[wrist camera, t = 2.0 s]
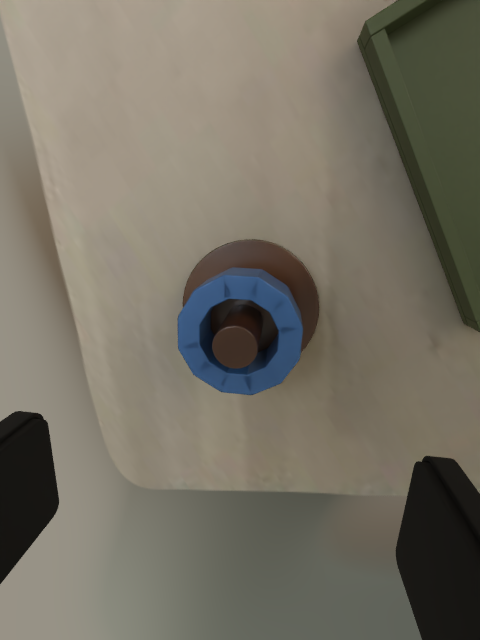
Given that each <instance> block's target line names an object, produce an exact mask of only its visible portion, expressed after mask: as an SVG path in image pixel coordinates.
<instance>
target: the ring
mask: <svg viewBox="0 0 480 640" xmlns="http://www.w3.org/2000/svg"><path fill="white" fill-rule="evenodd" d="M228 299H239V300H251V301H253V302H254V303H256V304H257V305H259V306H260V307H262V308H264V309H265V310H267V311H268V312H269V313H270V315H271V317H272V319H273V321H274V323H275V325H276V326H277V328H278V335H277V336H276V338H275V339H274V340H273V342H272V343H271V344H270V346H269V347H268V348H267V349H265V350H262V351H260V352H258V353H257V355H256V358H255V359H254V360H253V362H252V363H251V364H249V365H248V366H246V367H243V368H238V369H234V368H229V367H226V366H224V365H223V364H221V363H220V362H219V361H218V360H217V359H216V357H215V355H214V353H213V350H212V342H213V338H214V334H213V332H212V330H211V310H212V309H213V307H214V306H216V305H218V304H220V303H222V302H224V301H226V300H228ZM302 334H303V325H302V319H301V313H300V310H299V308H298V306H297V304H296V302H295V300H294V298H293V296H292V294H291V292H290V290H289V288H288V287H287V285H285V284H284V283H282V282H281V281H279V280H278V279H276V278H275V277H273V276H272V275H270V274H269V273H267V272H266V271H264V270H262V269H251V268H234V267H233V268H230V269H228V270H226V271H224V272H222V273H220V274H218V275H216V276H214V277H212V278H210V279H208V280H206V281H205V282H204V283H203V284H201V285H200V286H199V287H197V288H196V289H195V290H194V291H193V292H192V294H191V296H190V297H189V299H188V301H187V302H186V304H185V306H184V307H183V309H182V311H181V312H180V314H179V316H178V349H179V351H180V352H181V354H182V356H183V358H184V359H185V361H186V363H187V364H188V366H189V368H190V370H191V371H192V373H193V375H195V376H196V377H198V378H200V379H201V380H203V381H204V382H206V383H208V384H209V385H211V386H212V387H214V388H215V389H217V390H219V391H221V392H226V393H236V394H246V395H253V394H256V393H258V392H261V391H263V390H266V389H268V388H271V387H273V386H276V385H278V384H280V383H282V381H283V380H284V379H285V377H286V376H287V375H288V374H289V372H290V371H291V370H292V368H293V367H294V366H295V365H296V363H297V362H298V361H299V359H300V354H301V344H302Z"/></svg>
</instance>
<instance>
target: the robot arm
mask: <svg viewBox="0 0 480 640" xmlns="http://www.w3.org/2000/svg"><path fill="white" fill-rule="evenodd" d="M58 505H59V497H58V490H57V483H56V476H55V469H54V463H53V456H52V449H51V442H50V435H49V428H48V423H47V422H46V420H44V419H43V416H42V415H41V414H38V413H31V412H22V411H18V412H14V413H12V414H11V415H9V416H8V417H7V418H5V419H4V420H2V421H1V422H0V584H1V583H2V581H3V580H4V579H5V578H6V576H7V575H8V574H9V573H10V571H11V570H12V569H13V567H14V566H15V565H16V563H17V562H18V561H19V560H20V559H21V557H22V556H23V555H24V553H25V552H26V551H27V550H28V548H29V547H30V546H31V545H32V543H33V542H34V541H35V540H36V538H37V537H38V536H39V534H40V533H41V532H42V531H43V529H44V528H45V527H46V526H47V524H48V523H49V522H50V520H51V519H52V518H53V517H54V515H55V513H56V511H57V509H58ZM396 560H397V565H398V569H399V571H400V574H401V578H402V581H403V584H404V586H405V590H406V592H407V596H408V598H409V602H410V604H411V608H412V610H413V614H414V617H415V620H416V623H417V626H418V629H419V631H420V634H421V638H422V640H480V494H479V492H478V491H477V489H476V488H475V487H474V485H473V484H472V483H471V481H470V480H469V478H468V477H467V476H466V474H465V473H464V472H463V470H462V469H461V467H460V466H459V465H458V463H457V462H456V461H455V460H453V459H451V458H442V457H433V456H425V457H424V458H423V460H422V462H419V461H418V462H416V463H415V465H414V469H413V473H412V478H411V483H410V487H409V492H408V496H407V501H406V505H405V510H404V515H403V519H402V524H401V528H400V532H399V537H398V541H397V546H396Z"/></svg>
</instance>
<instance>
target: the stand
mask: <svg viewBox="0 0 480 640" xmlns="http://www.w3.org/2000/svg"><path fill="white" fill-rule="evenodd" d="M233 267H234V268H251V269H262V270H264V271H266V272H267V273H269V274H270V275H272V276H273V277H275V278H276V279H278V280H279V281H281V282H282V283H284V284H285V285H287V287H288V288H289V290H290V292H291V294H292V296H293V298H294V300H295V302H296V304H297V306H298V308H299V310H300V313H301V319H302V325H303V334H302V344H301V352H302V351H303V349H304V348H305V347H306V346H307V344H308V343H309V341H310V340H311V338H312V336H313V334H314V332H315V329H316V326H317V321H318V316H319V301H318V294H317V290H316V287H315V284H314V282H313V279H312V277H311V276H310V274H309V272H308V270H307V269H306V267H305V266H304V265H303V263H302V262H301V261H300V260H299V259H298V258H297V257H296V256H295V255H293V254H292V253H291V252H289V251H288V250H286V249H285V248H283V247H281V246H279V245H276V244H274V243H271V242H267V241H263V240H255V239H246V240H239V241H234V242H231V243H227V244H225V245H223V246H221V247H218V248H216V249H215V250H213V251H212V252H210V253H209V254H207V255H206V256H205V257H204V258H203V259H202V260H201V261H200V262H199V263H198V264H197V265H196V267H195V268H194V270H193V271H192V273H191V275H190V277H189V279H188V281H187V284H186V287H185V291H184V296H183V307H184V306H185V304H186V302H187V301H188V299H189V297H190V296H191V294H192V292H193V291H194V290H195V289H196V288H197V287H199V286H200V285H201V284H203V283H204V282H205V281H206V280H208V279H210V278H212V277H214V276H216V275H218V274H220V273H222V272H224V271H226V270H228V269H230V268H233ZM211 330H212V332H213V334H214V338H213V342H212V350H213V353H214V355H215V357H216V359H217V360H218V361H219V362H220V363H221V364H223V365H224V366H226V367H229V368H234V369H238V368H243V367H246V366H248V365H249V364H251V363H252V362H253V360H254V359H255V358H256V355H257V353H258V352H260V351H262V350H265V349H267V348H268V347H269V346H270V344H271V343H272V342H273V340H274V339H275V338H276V336H277V335H278V328H277V326H276V325H275V323H274V321H273V319H272V317H271V315H270V313H269V312H268V311H267V310H265V309H264V308H262V307H260V306H259V305H257V304H256V303H254V302H253V301H251V300H239V299H228V300H226V301H224V302H222V303H220V304H218V305H216V306H214V307H213V309H212V310H211Z"/></svg>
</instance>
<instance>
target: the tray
mask: <svg viewBox="0 0 480 640" xmlns="http://www.w3.org/2000/svg"><path fill="white" fill-rule="evenodd" d="M357 42H358V45H359V47H360V50H361V52H362V55H363V58H364V60H365V63H366V66H367V68H368V71H369V74H370V76H371V79H372V82H373V84H374V87H375V90H376V92H377V95H378V97H379V100H380V103H381V105H382V108H383V111H384V113H385V116H386V119H387V121H388V124H389V127H390V129H391V132H392V134H393V137H394V140H395V142H396V145H397V148H398V150H399V153H400V156H401V158H402V161H403V164H404V166H405V169H406V172H407V174H408V177H409V179H410V182H411V185H412V187H413V190H414V193H415V195H416V198H417V201H418V203H419V206H420V209H421V211H422V214H423V216H424V219H425V222H426V224H427V227H428V230H429V232H430V235H431V238H432V240H433V243H434V246H435V248H436V251H437V254H438V256H439V259H440V261H441V264H442V267H443V269H444V272H445V275H446V277H447V280H448V283H449V285H450V288H451V291H452V293H453V296H454V298H455V301H456V304H457V306H458V309H459V312H460V314H461V317H462V320H463V322H464V324H466V325H467V326H470V327H471V328H473V329H475V330H477V331H478V332H480V0H398V1H396V2H394V3H393V4H391V5H390V6H388V7H387V8H385V9H384V10H382V11H381V12H379V13H377V14H376V15H374V16H373V17H371V18H370V19H368V20H367V21H366V22H365V24H364V26H363V29H362V31H361V34H360V36H359V38H358V40H357Z"/></svg>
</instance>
